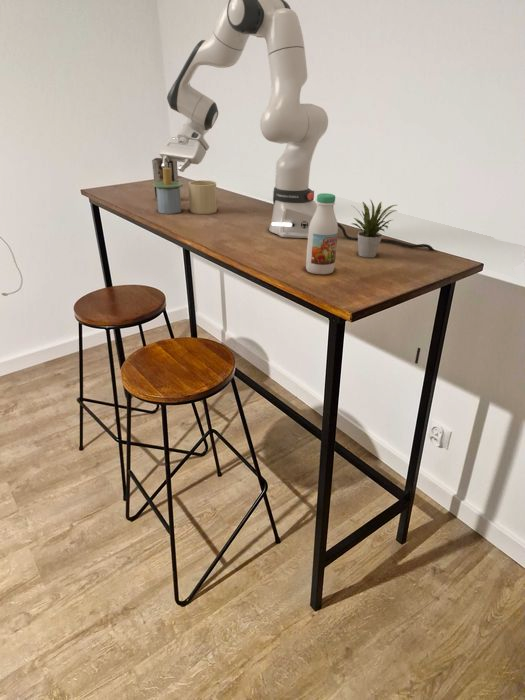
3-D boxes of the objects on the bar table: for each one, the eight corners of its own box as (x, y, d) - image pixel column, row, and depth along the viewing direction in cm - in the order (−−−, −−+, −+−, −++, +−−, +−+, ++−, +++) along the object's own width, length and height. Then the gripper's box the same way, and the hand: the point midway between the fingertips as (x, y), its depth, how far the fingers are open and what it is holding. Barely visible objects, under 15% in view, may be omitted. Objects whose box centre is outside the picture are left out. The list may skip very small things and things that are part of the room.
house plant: (404, 256, 142) (414, 200, 134) (378, 266, 133) (387, 207, 125) (365, 245, 151) (372, 192, 143) (338, 254, 142) (344, 198, 134)
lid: (187, 185, 184) (186, 167, 180) (176, 190, 174) (174, 171, 171) (160, 183, 186) (159, 165, 183) (147, 188, 176) (145, 169, 173)
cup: (184, 209, 187) (183, 185, 183) (175, 214, 180) (174, 190, 175) (164, 207, 189) (162, 184, 185) (154, 212, 181) (152, 188, 177)
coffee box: (179, 197, 206) (177, 158, 198) (176, 201, 200) (173, 160, 192) (159, 196, 207) (156, 157, 199) (154, 200, 201) (151, 159, 193)
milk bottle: (300, 271, 128) (305, 194, 118) (314, 263, 134) (319, 190, 124) (325, 277, 125) (333, 199, 115) (338, 269, 130) (346, 194, 120)
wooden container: (220, 209, 189) (219, 181, 184) (211, 214, 181) (210, 186, 176) (195, 206, 192) (194, 179, 186) (186, 212, 183) (184, 184, 178)
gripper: (165, 131, 183) (148, 160, 181) (203, 135, 173) (185, 166, 171) (175, 143, 189) (158, 171, 187) (212, 147, 178) (195, 178, 176)
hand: (171, 169), depth 179 cm, fingers open, 8 cm apart
